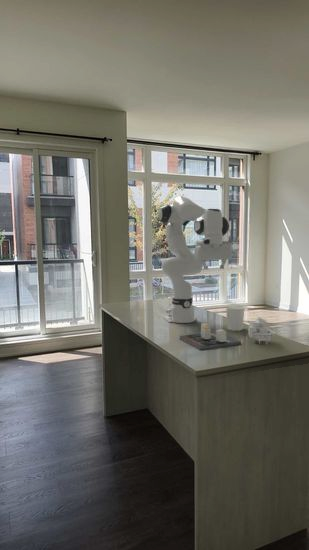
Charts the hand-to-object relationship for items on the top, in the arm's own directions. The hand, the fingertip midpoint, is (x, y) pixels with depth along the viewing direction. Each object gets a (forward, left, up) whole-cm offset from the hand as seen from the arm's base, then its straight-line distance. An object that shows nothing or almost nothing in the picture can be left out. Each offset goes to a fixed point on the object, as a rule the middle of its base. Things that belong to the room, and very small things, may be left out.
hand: (213, 269), depth 176 cm
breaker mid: (+7, -9, -32) cm, 34 cm away
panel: (+7, -7, -34) cm, 36 cm away
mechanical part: (+18, +15, -35) cm, 42 cm away
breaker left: (0, -5, -32) cm, 33 cm away
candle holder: (-9, +19, -35) cm, 40 cm away
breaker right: (+14, -5, -32) cm, 36 cm away
